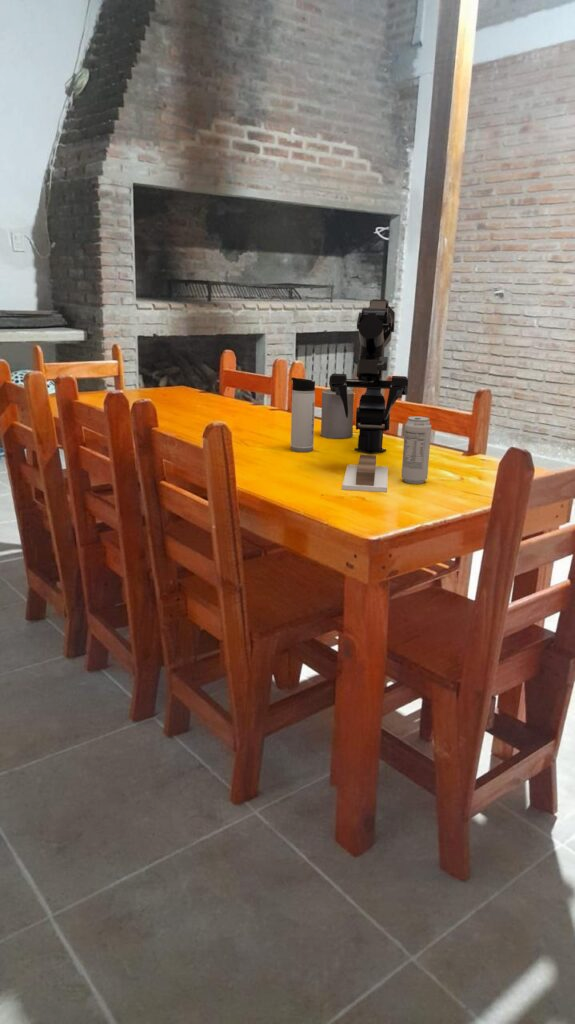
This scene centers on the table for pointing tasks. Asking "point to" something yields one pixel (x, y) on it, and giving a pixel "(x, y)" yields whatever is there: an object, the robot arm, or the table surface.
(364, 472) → the walnut ridge
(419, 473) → the energy drink can
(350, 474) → the ridge base plate
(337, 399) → the pillar candle
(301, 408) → the travel mug
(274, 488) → the table surface
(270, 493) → the table surface
